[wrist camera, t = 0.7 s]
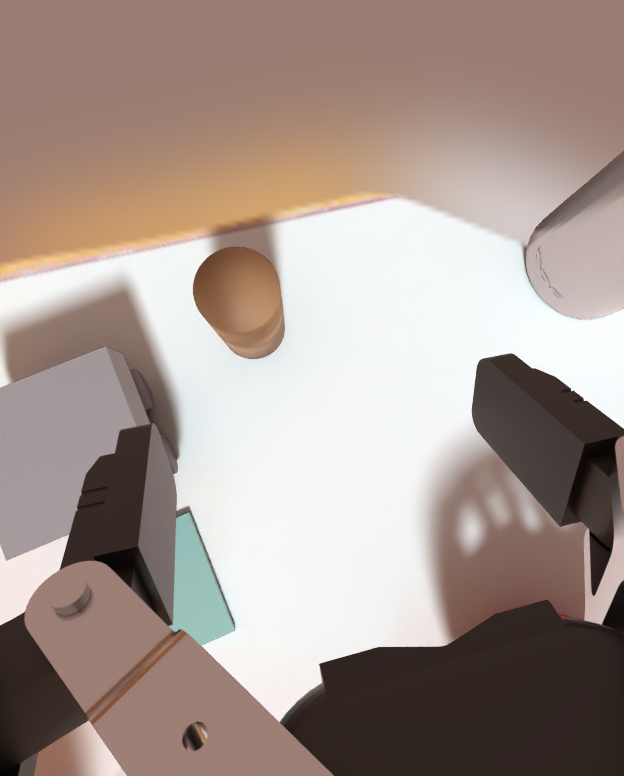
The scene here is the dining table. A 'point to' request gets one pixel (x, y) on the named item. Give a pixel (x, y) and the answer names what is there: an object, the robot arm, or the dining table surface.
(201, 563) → the teal pad
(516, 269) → the dining table surface
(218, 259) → the roller
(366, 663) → the robot arm
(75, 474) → the grey roller platform
